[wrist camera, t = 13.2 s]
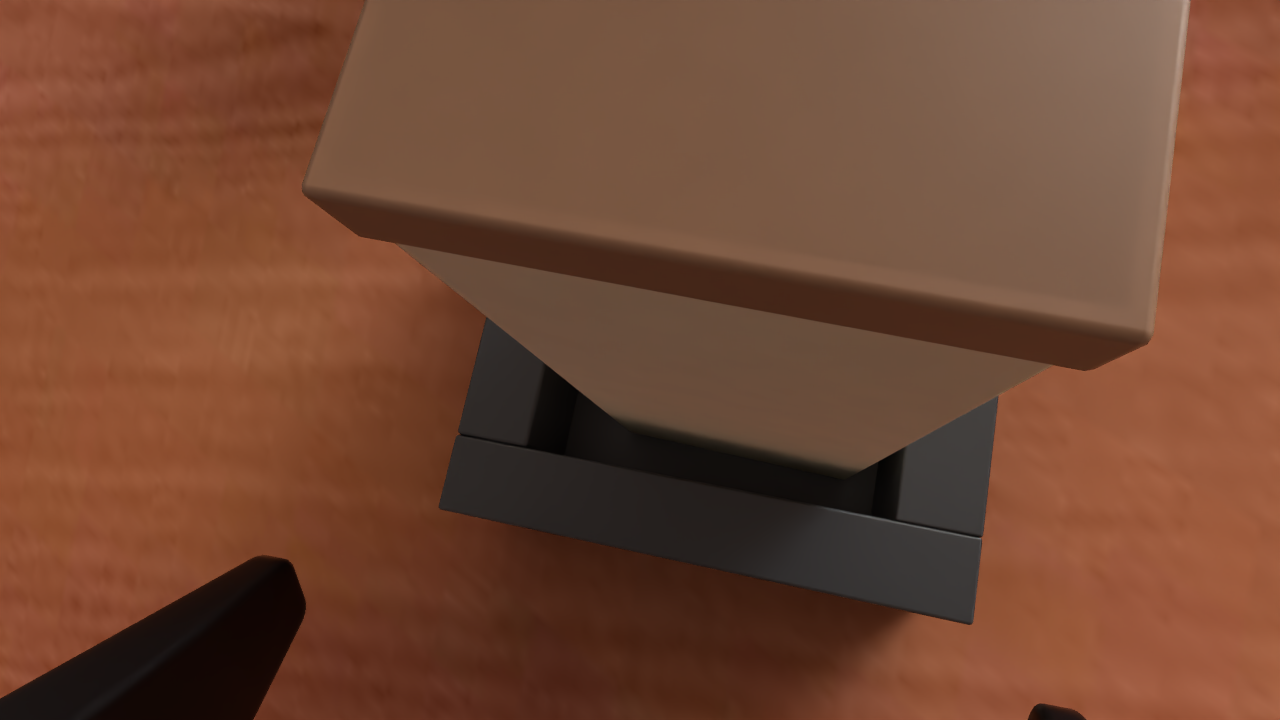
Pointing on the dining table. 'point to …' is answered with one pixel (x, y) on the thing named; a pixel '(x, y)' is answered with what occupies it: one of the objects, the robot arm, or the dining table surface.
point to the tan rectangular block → (773, 198)
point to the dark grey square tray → (722, 493)
